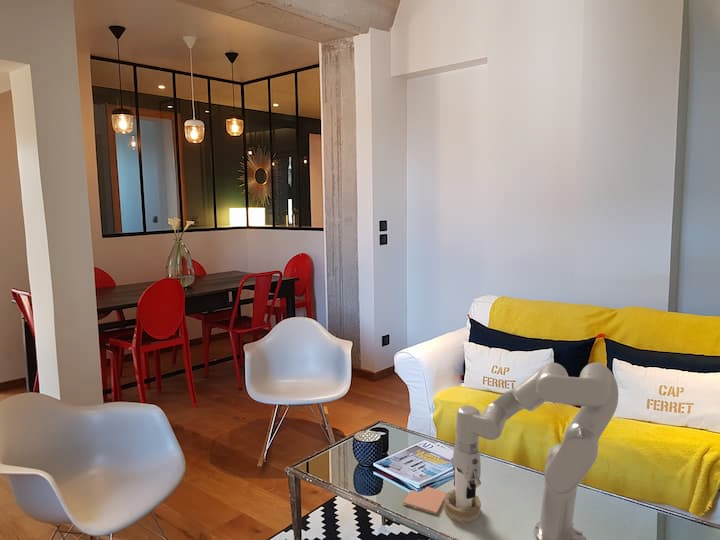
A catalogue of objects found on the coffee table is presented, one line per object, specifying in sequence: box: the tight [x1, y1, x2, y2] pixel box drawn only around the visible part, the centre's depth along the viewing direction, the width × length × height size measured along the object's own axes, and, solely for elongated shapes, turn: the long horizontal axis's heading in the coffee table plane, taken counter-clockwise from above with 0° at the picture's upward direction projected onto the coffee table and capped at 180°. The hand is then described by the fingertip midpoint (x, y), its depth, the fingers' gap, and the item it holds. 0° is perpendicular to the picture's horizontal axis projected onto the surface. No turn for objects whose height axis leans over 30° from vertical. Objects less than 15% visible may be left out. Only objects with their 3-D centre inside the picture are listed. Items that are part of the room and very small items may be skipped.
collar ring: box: [443, 489, 482, 523], centre depth 190 cm, size 12×12×4 cm
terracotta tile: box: [402, 486, 448, 515], centre depth 195 cm, size 12×12×1 cm
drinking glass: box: [454, 467, 473, 510], centre depth 188 cm, size 7×7×15 cm
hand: (464, 490), depth 188 cm, fingers closed on drinking glass, 6 cm apart
